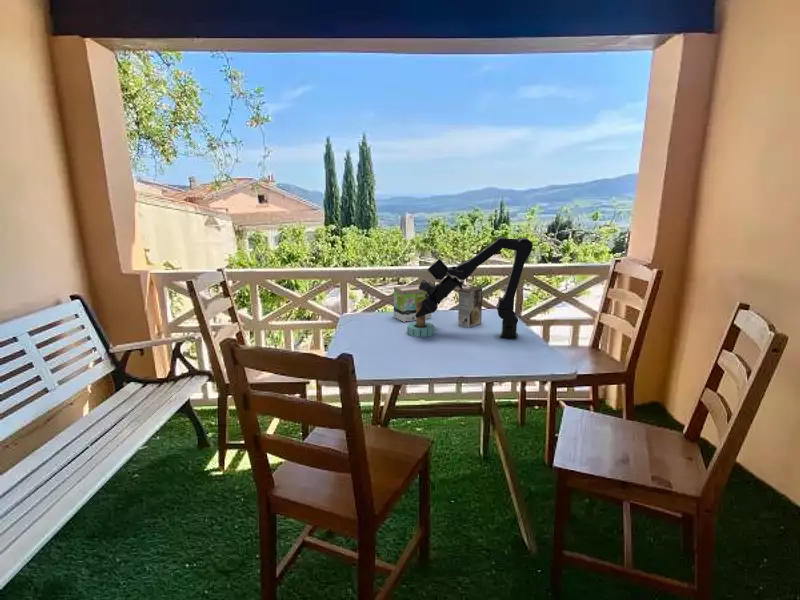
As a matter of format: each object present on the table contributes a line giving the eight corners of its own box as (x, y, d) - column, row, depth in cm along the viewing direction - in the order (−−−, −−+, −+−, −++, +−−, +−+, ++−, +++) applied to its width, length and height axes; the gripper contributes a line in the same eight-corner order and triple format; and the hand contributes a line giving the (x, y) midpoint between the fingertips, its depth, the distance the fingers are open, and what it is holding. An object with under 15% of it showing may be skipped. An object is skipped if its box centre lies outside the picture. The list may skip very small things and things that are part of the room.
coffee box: (469, 321, 205) (470, 285, 202) (481, 323, 201) (483, 287, 197) (457, 325, 199) (458, 289, 195) (469, 328, 195) (470, 291, 191)
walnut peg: (420, 331, 191) (420, 300, 188) (427, 332, 189) (427, 302, 186) (414, 332, 189) (414, 302, 186) (421, 334, 186) (421, 303, 183)
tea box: (403, 323, 203) (403, 290, 200) (393, 317, 212) (392, 286, 209) (432, 318, 210) (432, 287, 207) (421, 313, 219) (421, 283, 216)
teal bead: (412, 328, 196) (412, 321, 195) (437, 330, 192) (437, 323, 191) (403, 335, 185) (403, 328, 185) (430, 338, 182) (430, 330, 181)
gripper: (432, 269, 191) (406, 295, 196) (428, 277, 174) (399, 305, 178) (451, 288, 192) (425, 313, 196) (448, 298, 174) (420, 325, 178)
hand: (417, 313), depth 187 cm, fingers open, 9 cm apart
